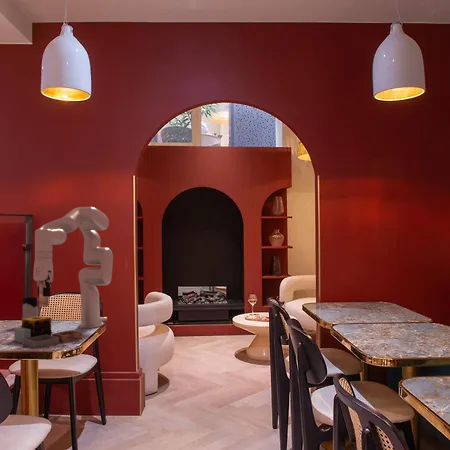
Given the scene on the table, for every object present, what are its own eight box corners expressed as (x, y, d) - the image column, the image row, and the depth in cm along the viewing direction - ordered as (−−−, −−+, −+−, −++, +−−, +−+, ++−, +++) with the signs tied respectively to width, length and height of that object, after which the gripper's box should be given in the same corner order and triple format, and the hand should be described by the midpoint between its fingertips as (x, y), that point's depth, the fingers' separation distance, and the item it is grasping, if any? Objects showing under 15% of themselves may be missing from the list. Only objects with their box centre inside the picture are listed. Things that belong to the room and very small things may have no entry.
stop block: (20, 339, 235) (20, 326, 235) (30, 342, 228) (30, 329, 228) (14, 340, 232) (14, 327, 232) (24, 343, 226) (24, 330, 226)
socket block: (70, 336, 239) (70, 330, 239) (82, 339, 233) (82, 332, 233) (51, 340, 232) (51, 333, 232) (62, 342, 225) (62, 336, 225)
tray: (46, 340, 231) (46, 334, 231) (59, 343, 224) (59, 337, 224) (23, 344, 223) (23, 338, 223) (35, 348, 215) (35, 341, 215)
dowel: (45, 305, 227) (45, 279, 228) (50, 305, 225) (50, 279, 225) (37, 306, 224) (37, 279, 225) (42, 306, 222) (42, 280, 222)
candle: (33, 342, 228) (33, 320, 228) (20, 340, 234) (20, 318, 234) (52, 338, 237) (51, 317, 237) (39, 336, 242) (39, 315, 243)
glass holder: (18, 326, 268) (18, 299, 268) (34, 322, 282) (33, 295, 282) (32, 327, 266) (32, 299, 266) (47, 322, 280) (47, 296, 280)
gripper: (26, 255, 228) (27, 295, 227) (45, 256, 217) (45, 297, 216) (42, 255, 233) (42, 294, 233) (61, 255, 222) (61, 296, 222)
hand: (43, 295), depth 225 cm, fingers closed on dowel, 4 cm apart
